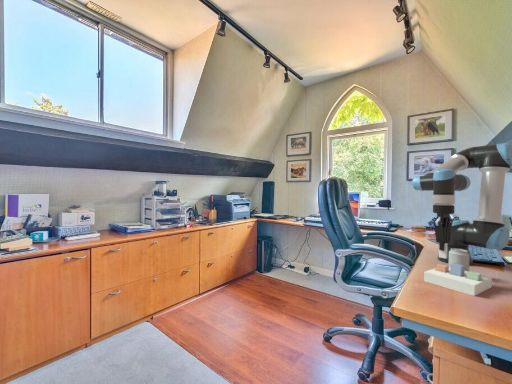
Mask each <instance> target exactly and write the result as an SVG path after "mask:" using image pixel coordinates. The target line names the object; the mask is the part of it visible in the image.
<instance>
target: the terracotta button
mask: <svg viewBox="0 0 512 384" xmlns="http://www.w3.org/2000/svg"><path fill="white" fill-rule="evenodd" d="M434 269H435V270H436V271H440V272H444V273H447V272H449V266H448V265H446V264H442V263H438V264H435V267H434Z"/></svg>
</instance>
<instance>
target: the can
mask: <svg viewBox="0 0 512 384" xmlns="http://www.w3.org/2000/svg"><path fill="white" fill-rule="evenodd" d="M467 252H468V251H467V250H463V249H455V248H452V249H451V250H450V251H449V263H448V264H447V266H449V267H450V264H453V263H455V264H460V265H464V266H465V271H468V272H469V271H470V265H469V257H470V255H471V254H470V255H469V254H468V253H467Z"/></svg>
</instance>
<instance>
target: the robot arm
mask: <svg viewBox="0 0 512 384" xmlns="http://www.w3.org/2000/svg"><path fill="white" fill-rule="evenodd" d="M511 167H512V144H510V143H509V142H507V143H506V142H504V143H494V144H489V145H487V144H485V145H479V146H472V147H468V148H466V149H463V150H460V151H459V152H457V153H454V154H453V155H451V156H450V157H448V160H447V161H445V162H443V163H442V164H440V165H439V166H437V167H436V168H434V169H433V170H431V171H429V172H428V173H426V174H424V175H418V176H414V177H413V178H412V181H411V185H412V189H413V190H415V191H421V192H422V191H423V192H427V191H429V192H431V191H433V193H432V197H431V198H432V203H433V205H432V213H434V214H436V217H435V218H436V220H433V222H432V223H433V226H434V233H435V243H437V244H438V253H437V260H438V261H440V262H443V263H447V264H449V251H450V250H451V249H452V248H455V249H463V250H467V251H468V252H467V253H468V254H469V255H470V257H469V266H471V265H473V262H474V261H473V257H472V255H471V253H470V249H469V246H471V247H472V246H473V247H477V248H483V249H488V250H497V251H499V250H502V249H504V248H505V247H506V246H507V245H508V243H509V239H510V229H509V227H506V226H505V223H504V221H503V220H501V218H502V210H503V201H504V200H503V199H504V189H505V179H506V173H508V172H509V171H510V170H511ZM468 169H478V171H479V172H481V182H480V190H479V192H480V193H479V200H478V210H477V217H476V218H474V219H473V221H472V223H471V222H470V221H469V220H467V219H466V220H463V219H461V220H460V219H459V220H457V219H456V220H453V218H452V219H451V215H454V214H455V205H454V204H456V201H455V199H456V198H455V196H456V195H455V192H461V191H465V190H467V189H469V188H470V186H471V179H470V177H468V175H465V174H461V173H460V174H457V173H458V172H462V171H465V170H468Z"/></svg>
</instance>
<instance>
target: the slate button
mask: <svg viewBox="0 0 512 384" xmlns="http://www.w3.org/2000/svg"><path fill="white" fill-rule="evenodd" d="M464 271H465V266H464V265H460V264H455V263H453V264H450V274H452V275H456V276H460V277H463V276H464Z"/></svg>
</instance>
